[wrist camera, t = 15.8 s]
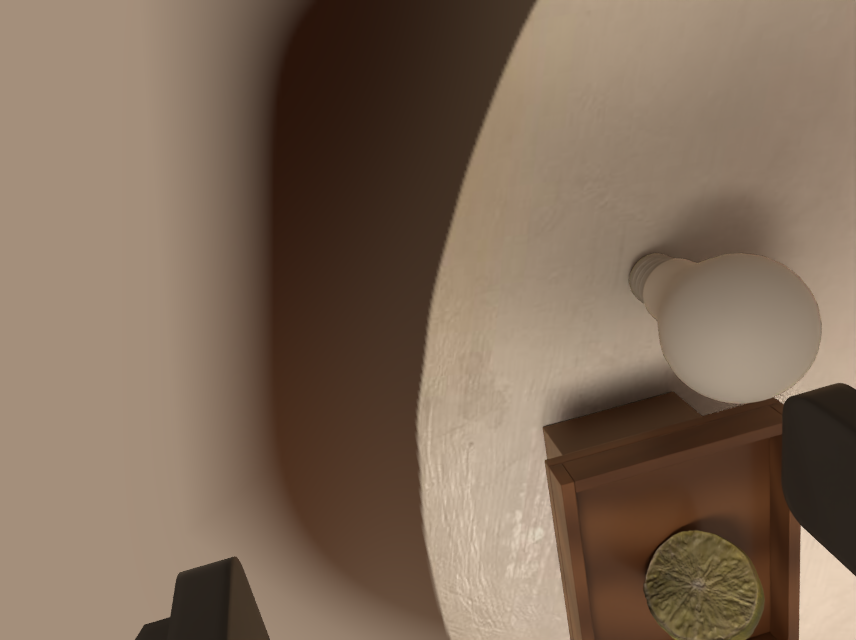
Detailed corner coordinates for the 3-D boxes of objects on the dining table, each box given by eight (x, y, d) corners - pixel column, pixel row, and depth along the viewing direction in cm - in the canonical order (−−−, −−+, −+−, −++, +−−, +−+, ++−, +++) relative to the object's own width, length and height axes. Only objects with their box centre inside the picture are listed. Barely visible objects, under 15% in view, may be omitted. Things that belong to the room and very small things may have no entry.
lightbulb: (628, 192, 35) (772, 251, 25) (722, 243, 37) (889, 317, 27) (566, 302, 37) (678, 399, 27) (659, 345, 39) (797, 451, 29)
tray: (504, 399, 38) (561, 485, 30) (702, 346, 39) (802, 417, 32) (538, 608, 43) (593, 725, 36) (711, 556, 45) (799, 658, 37)
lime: (622, 594, 35) (674, 676, 31) (655, 510, 34) (715, 582, 29) (700, 599, 37) (762, 679, 32) (735, 518, 35) (805, 589, 31)
